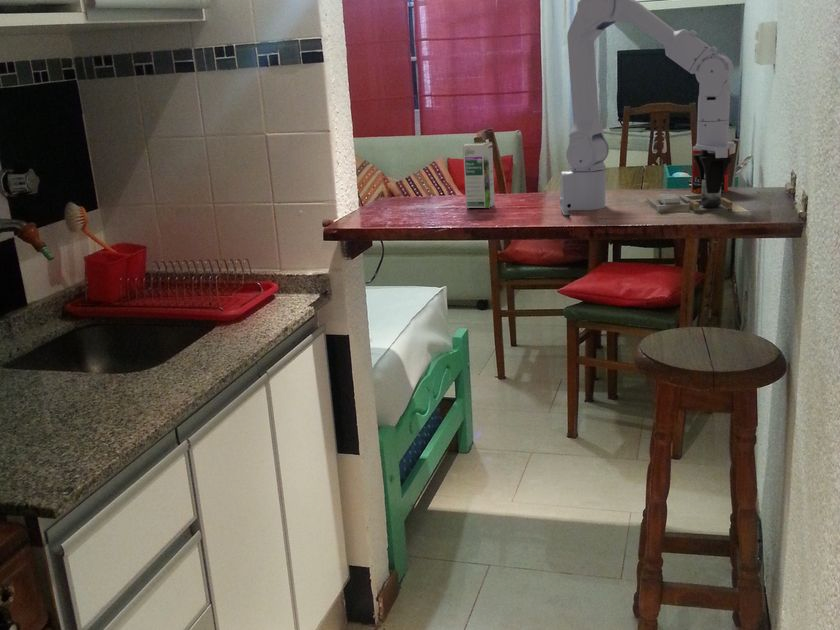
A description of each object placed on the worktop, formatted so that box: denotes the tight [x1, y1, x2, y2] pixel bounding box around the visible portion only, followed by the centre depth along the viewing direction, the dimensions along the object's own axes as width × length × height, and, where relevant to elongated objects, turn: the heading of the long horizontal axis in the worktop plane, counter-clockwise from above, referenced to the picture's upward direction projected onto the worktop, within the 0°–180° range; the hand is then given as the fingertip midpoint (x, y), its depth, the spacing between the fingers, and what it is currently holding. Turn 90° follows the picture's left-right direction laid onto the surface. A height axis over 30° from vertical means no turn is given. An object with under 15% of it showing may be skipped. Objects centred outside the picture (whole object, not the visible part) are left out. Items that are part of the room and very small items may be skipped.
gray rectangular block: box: [658, 193, 680, 205], centre depth 166 cm, size 3×6×2 cm, turn 175°
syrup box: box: [462, 141, 495, 209], centre depth 186 cm, size 6×6×14 cm
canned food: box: [690, 145, 731, 195], centre depth 181 cm, size 8×8×11 cm
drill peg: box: [701, 173, 722, 207], centre depth 160 cm, size 4×4×7 cm
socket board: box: [643, 194, 749, 216], centre depth 167 cm, size 17×17×3 cm
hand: (710, 191), depth 160 cm, fingers closed on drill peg, 3 cm apart
